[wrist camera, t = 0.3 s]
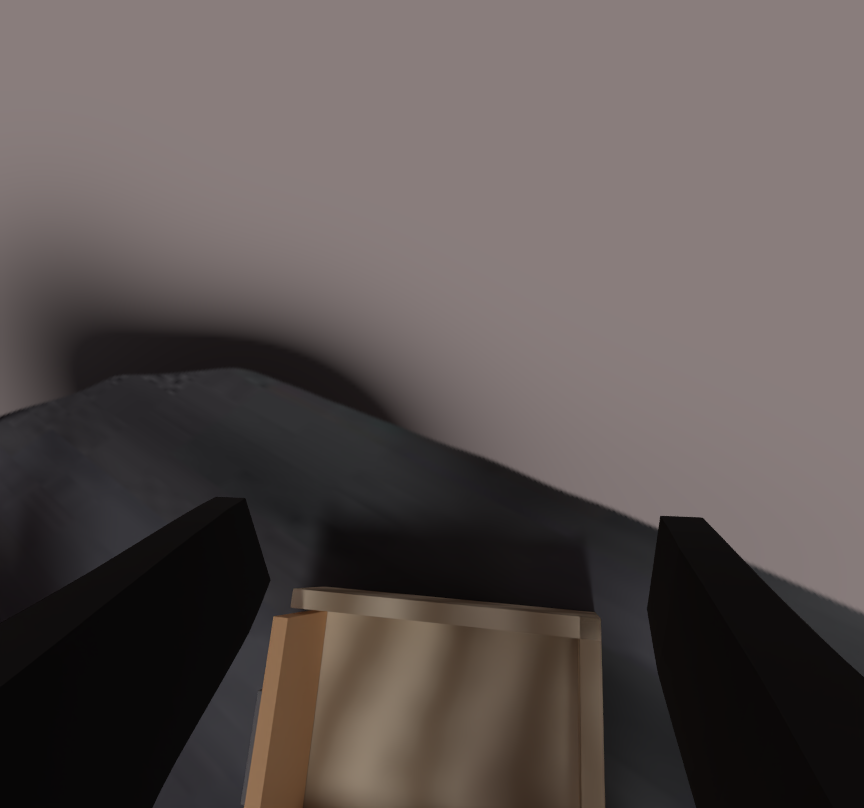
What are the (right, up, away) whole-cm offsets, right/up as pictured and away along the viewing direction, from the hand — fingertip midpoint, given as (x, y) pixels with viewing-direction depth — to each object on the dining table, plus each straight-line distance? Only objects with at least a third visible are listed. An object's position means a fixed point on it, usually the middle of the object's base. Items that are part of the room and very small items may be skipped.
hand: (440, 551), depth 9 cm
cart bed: (+1, -20, +25) cm, 32 cm away
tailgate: (-9, -20, +27) cm, 35 cm away
